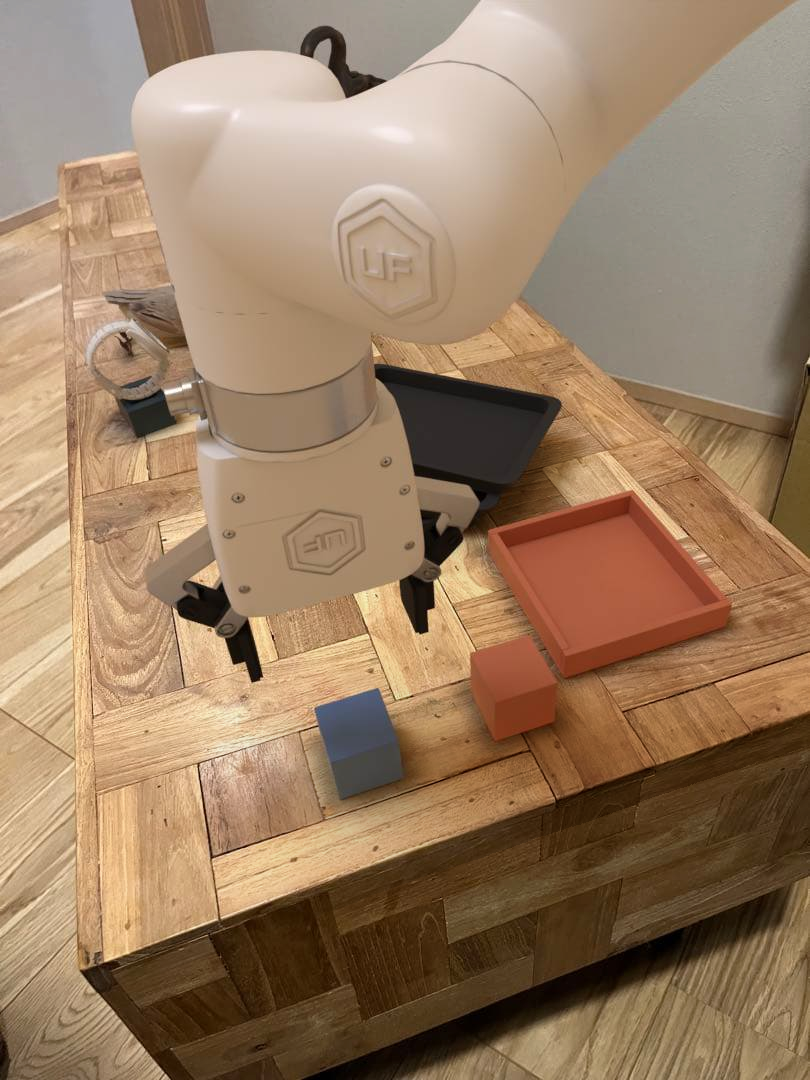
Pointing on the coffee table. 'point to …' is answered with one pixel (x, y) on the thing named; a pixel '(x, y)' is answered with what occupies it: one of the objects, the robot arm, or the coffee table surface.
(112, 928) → the coffee table surface
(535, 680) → the terracotta block
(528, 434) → the tray
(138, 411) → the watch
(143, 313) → the decorative bird
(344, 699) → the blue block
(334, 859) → the coffee table surface
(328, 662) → the coffee table surface
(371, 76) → the vase
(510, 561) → the dish
